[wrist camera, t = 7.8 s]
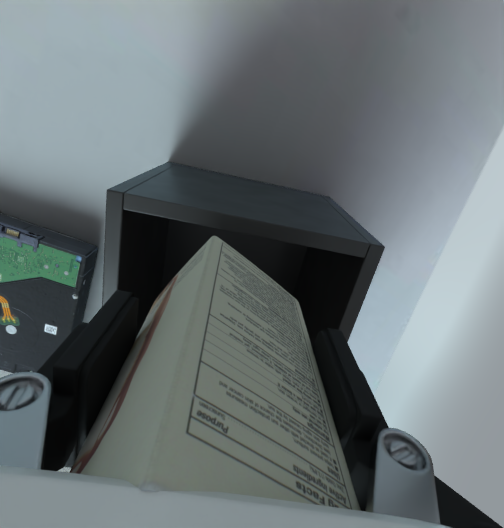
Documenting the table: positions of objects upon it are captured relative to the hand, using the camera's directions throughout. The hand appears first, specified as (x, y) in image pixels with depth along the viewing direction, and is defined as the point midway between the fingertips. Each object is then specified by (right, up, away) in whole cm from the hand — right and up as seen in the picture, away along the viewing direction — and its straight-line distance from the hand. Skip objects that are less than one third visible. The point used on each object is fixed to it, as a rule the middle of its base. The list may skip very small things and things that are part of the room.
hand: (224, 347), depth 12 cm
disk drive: (-20, 0, +20) cm, 28 cm away
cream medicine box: (0, +1, +3) cm, 3 cm away
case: (-1, +3, +18) cm, 19 cm away
